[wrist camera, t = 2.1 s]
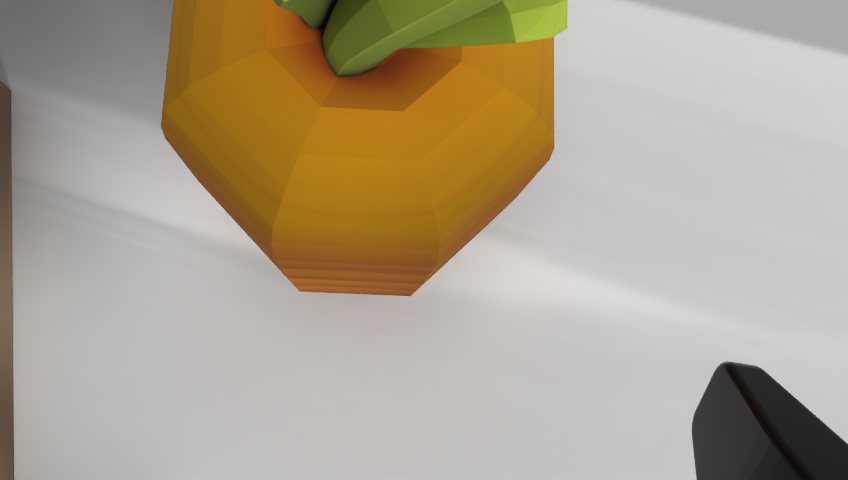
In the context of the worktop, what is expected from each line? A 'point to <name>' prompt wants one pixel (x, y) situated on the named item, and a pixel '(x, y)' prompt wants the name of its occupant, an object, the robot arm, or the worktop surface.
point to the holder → (6, 291)
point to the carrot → (362, 126)
